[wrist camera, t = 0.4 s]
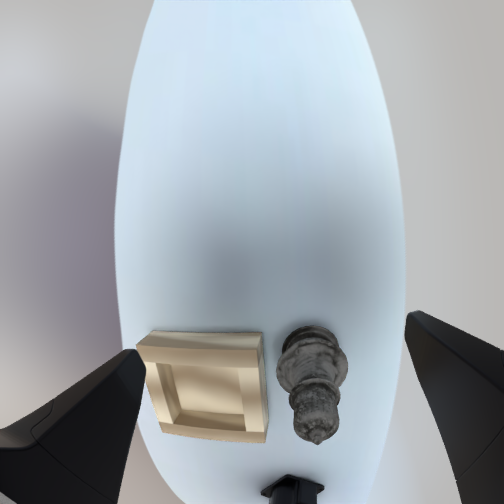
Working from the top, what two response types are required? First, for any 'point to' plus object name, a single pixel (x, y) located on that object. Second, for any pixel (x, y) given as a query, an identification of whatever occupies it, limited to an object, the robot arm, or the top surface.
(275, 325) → the top surface
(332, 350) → the weathered stone finial
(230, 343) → the shaker caddy
